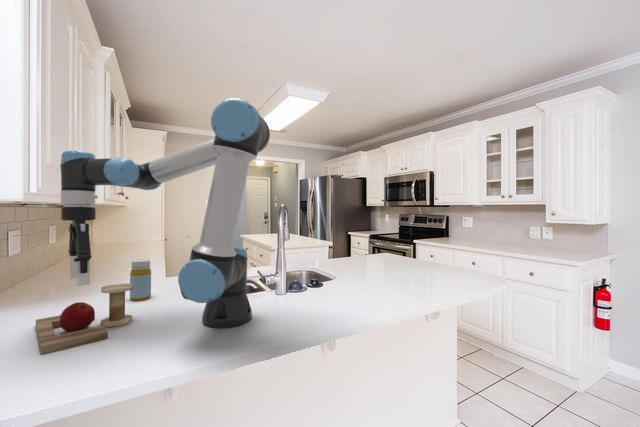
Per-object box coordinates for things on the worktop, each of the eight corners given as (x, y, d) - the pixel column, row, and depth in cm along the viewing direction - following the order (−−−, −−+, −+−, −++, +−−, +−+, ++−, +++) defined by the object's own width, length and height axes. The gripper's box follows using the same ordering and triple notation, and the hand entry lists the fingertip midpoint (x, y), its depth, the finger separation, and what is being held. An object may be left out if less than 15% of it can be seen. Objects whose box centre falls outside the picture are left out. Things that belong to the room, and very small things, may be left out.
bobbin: (135, 322, 90) (136, 286, 90) (103, 329, 84) (104, 291, 84) (128, 315, 96) (129, 282, 96) (98, 321, 90) (98, 286, 90)
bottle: (154, 296, 117) (155, 259, 117) (142, 301, 110) (143, 262, 110) (138, 295, 118) (139, 258, 118) (125, 300, 111) (126, 261, 111)
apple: (61, 339, 77) (62, 309, 77) (57, 330, 83) (58, 302, 83) (97, 331, 83) (97, 303, 83) (91, 323, 89) (91, 297, 89)
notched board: (107, 338, 78) (107, 330, 78) (40, 354, 69) (40, 346, 69) (91, 315, 95) (91, 309, 95) (35, 326, 86) (35, 319, 86)
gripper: (104, 205, 77) (104, 286, 77) (87, 207, 94) (88, 273, 94) (66, 205, 72) (67, 291, 72) (56, 207, 89) (57, 276, 89)
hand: (79, 281), depth 83 cm, fingers open, 13 cm apart
